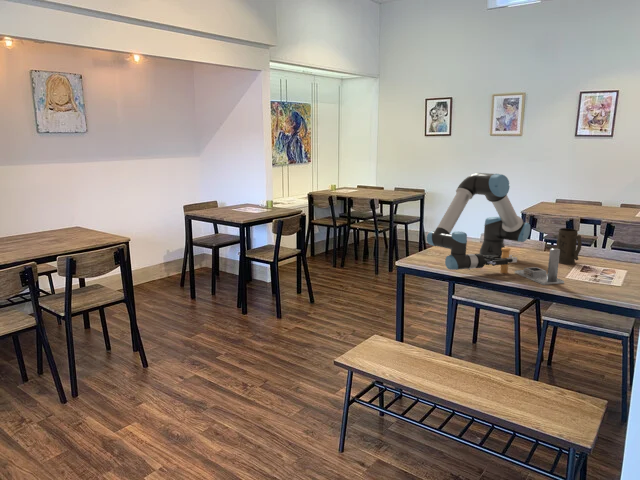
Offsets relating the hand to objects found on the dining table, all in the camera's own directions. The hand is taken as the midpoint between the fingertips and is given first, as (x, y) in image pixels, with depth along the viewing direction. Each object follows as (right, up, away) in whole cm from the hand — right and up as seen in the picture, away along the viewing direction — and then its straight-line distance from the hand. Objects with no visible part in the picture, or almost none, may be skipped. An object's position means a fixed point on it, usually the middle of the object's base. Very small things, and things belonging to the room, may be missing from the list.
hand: (514, 258), depth 248 cm
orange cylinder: (-5, -7, 0) cm, 9 cm away
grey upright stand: (+9, -10, -10) cm, 16 cm away
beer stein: (+39, -3, +20) cm, 44 cm away
